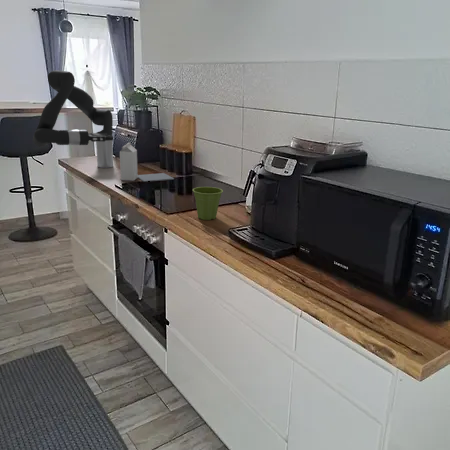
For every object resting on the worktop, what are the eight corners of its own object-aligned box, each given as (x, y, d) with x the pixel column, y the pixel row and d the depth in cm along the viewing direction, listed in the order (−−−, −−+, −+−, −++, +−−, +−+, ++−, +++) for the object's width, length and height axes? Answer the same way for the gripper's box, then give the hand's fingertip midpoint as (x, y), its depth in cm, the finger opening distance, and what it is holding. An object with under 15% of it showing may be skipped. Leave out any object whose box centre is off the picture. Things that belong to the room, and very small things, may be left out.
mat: (134, 176, 242) (134, 175, 242) (164, 174, 250) (164, 173, 250) (143, 182, 230) (143, 180, 229) (174, 179, 238) (174, 178, 237)
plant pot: (225, 221, 171) (226, 193, 167) (195, 223, 168) (196, 194, 164) (217, 212, 182) (218, 185, 178) (189, 214, 178) (189, 186, 175)
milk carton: (137, 178, 238) (136, 142, 232) (133, 181, 231) (132, 144, 225) (124, 177, 238) (123, 142, 232) (120, 180, 232) (119, 143, 226)
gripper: (80, 131, 208) (114, 131, 216) (73, 128, 220) (106, 128, 228) (81, 147, 211) (114, 146, 219) (74, 143, 222) (106, 142, 230)
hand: (110, 137), depth 223 cm, fingers open, 8 cm apart
